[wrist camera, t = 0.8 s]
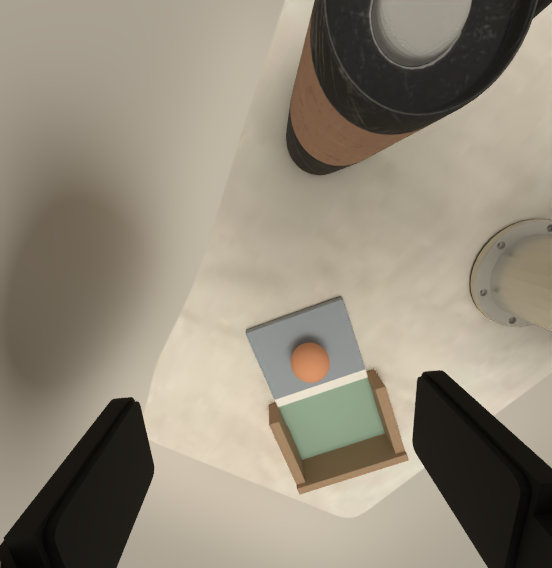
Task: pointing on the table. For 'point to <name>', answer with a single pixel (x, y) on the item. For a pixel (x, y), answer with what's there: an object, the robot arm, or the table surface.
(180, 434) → the table surface
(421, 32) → the travel mug
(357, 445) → the lane
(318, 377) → the ball
